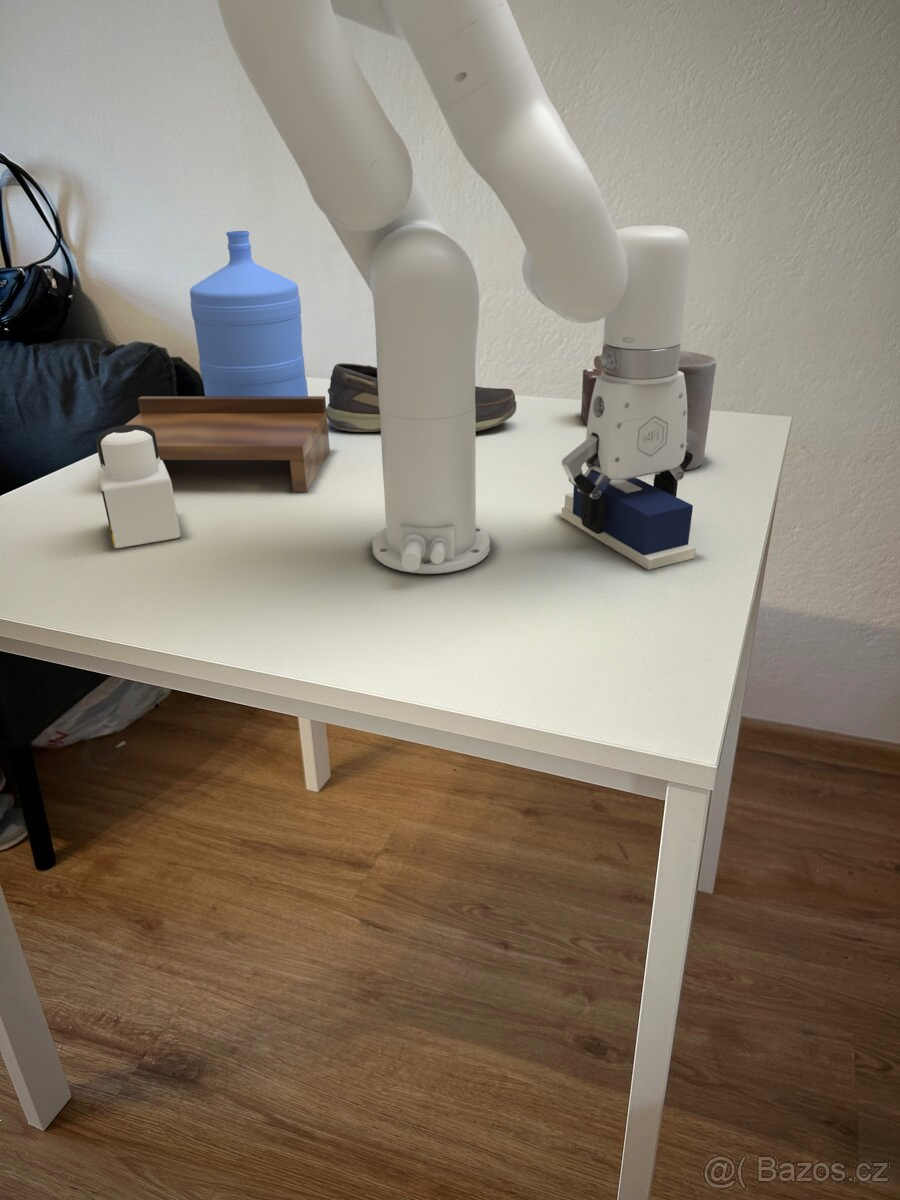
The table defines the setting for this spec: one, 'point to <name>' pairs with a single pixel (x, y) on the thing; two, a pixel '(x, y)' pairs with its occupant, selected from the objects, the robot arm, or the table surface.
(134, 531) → the medicine bottle
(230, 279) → the water jug
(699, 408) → the pillar candle
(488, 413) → the boat shoe
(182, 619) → the table surface
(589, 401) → the box
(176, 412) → the shelf
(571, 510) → the blue block on tray
